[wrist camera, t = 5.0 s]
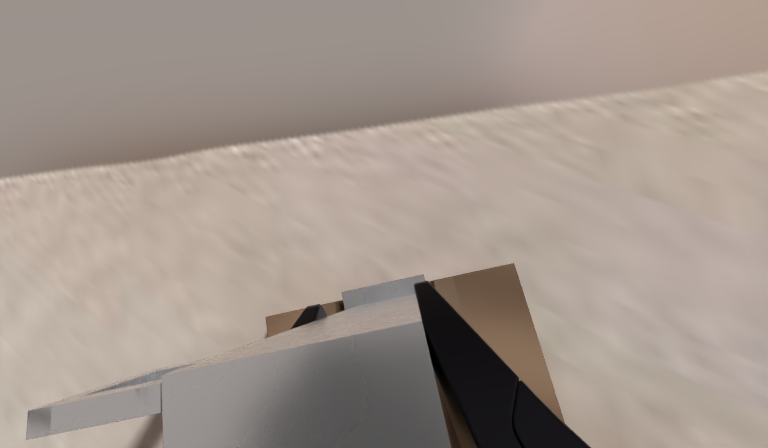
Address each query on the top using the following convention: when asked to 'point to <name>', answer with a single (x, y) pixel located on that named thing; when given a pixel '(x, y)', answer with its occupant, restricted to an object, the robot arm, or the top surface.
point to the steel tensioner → (288, 386)
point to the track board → (480, 327)
